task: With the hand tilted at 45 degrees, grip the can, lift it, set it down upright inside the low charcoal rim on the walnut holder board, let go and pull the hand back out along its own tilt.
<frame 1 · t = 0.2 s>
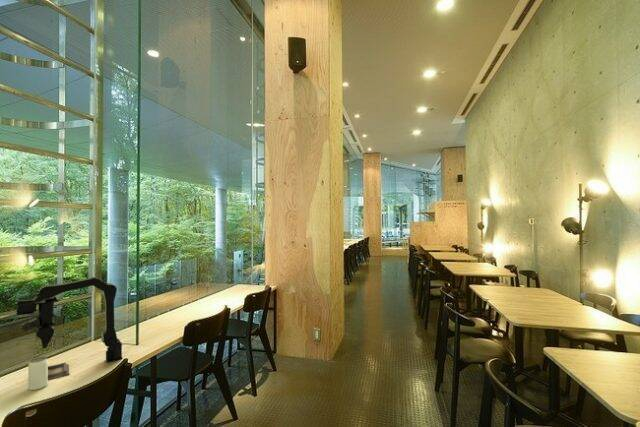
hand: (44, 345, 153), 14 cm above the counter, tool pointing down, fingers open, 9 cm apart
can: (38, 387, 142), on the counter
holder: (50, 374, 154), on the counter
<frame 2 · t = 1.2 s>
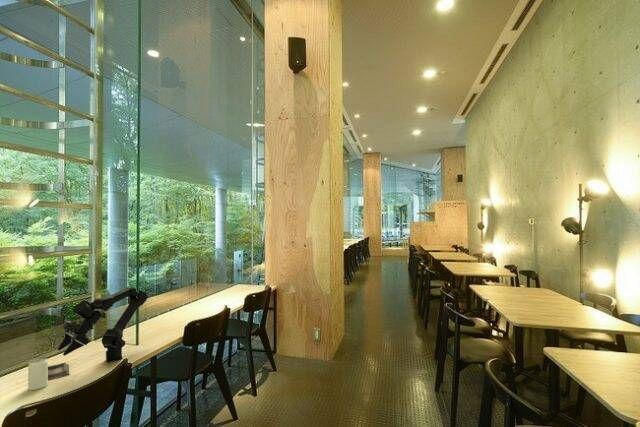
hand: (60, 352, 149), 12 cm above the counter, tool tilted 45°, fingers open, 9 cm apart
nothing on the counter moved.
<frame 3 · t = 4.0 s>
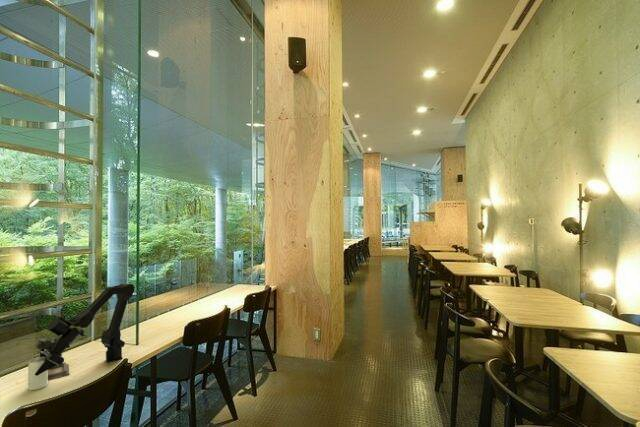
hand: (33, 373, 141), 7 cm above the counter, tool tilted 45°, fingers closed on can, 6 cm apart
can: (38, 387, 142), on the counter, touching gripper
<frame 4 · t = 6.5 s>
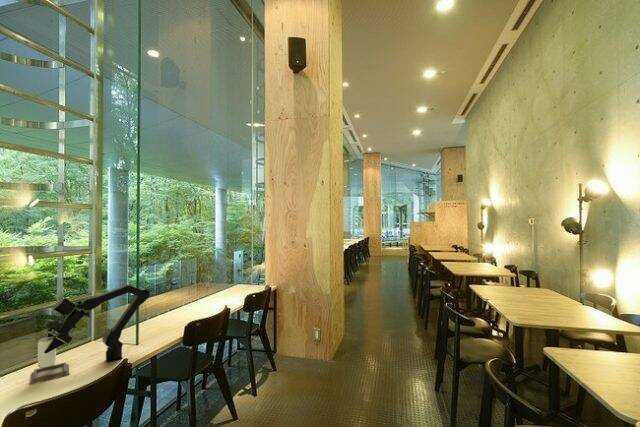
hand: (43, 351, 149), 13 cm above the counter, tool tilted 45°, fingers closed on can, 6 cm apart
can: (47, 365, 150), point 6 cm above the counter, touching gripper
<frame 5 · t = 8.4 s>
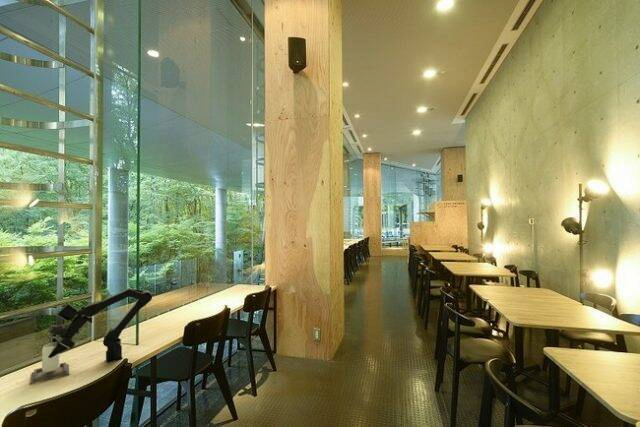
hand: (47, 356, 153), 9 cm above the counter, tool tilted 45°, fingers closed on can, 6 cm apart
can: (51, 370, 154), point 2 cm above the counter, touching gripper
when the fingers open (8 cm above the counter, at t = 9.5 s): can stays where it is, resting on holder.
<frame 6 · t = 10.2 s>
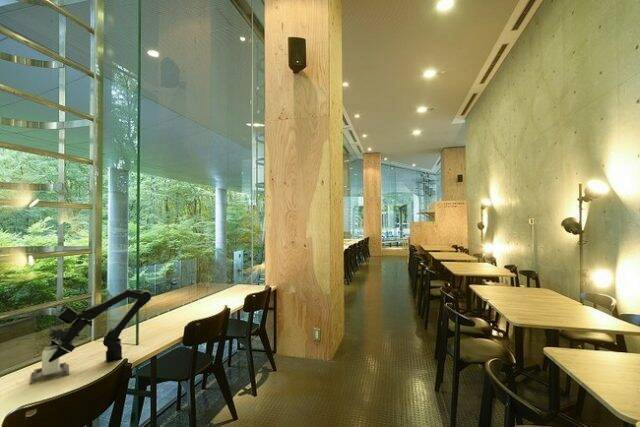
hand: (46, 359, 153), 8 cm above the counter, tool tilted 45°, fingers open, 9 cm apart
can: (50, 373, 154), resting on holder
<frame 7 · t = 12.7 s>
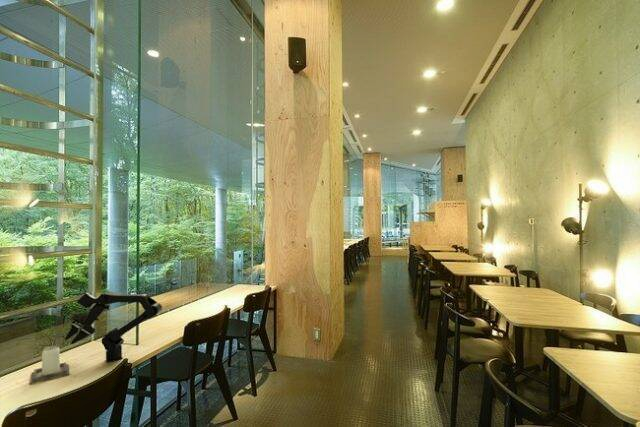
hand: (68, 341, 159), 13 cm above the counter, tool tilted 45°, fingers open, 9 cm apart
nothing on the counter moved.
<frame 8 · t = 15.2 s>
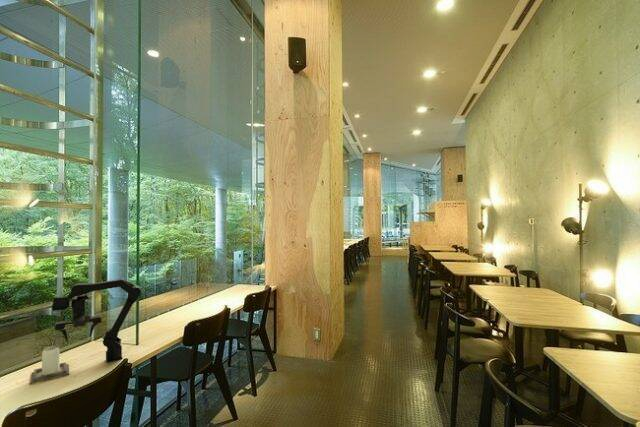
hand: (78, 339, 164), 13 cm above the counter, tool pointing down, fingers open, 9 cm apart
nothing on the counter moved.
at the end: can 0.3 cm off-centre on the holder, point 0.4 cm above the holder's base; can tilted 0°; the gripper is holding nothing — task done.
